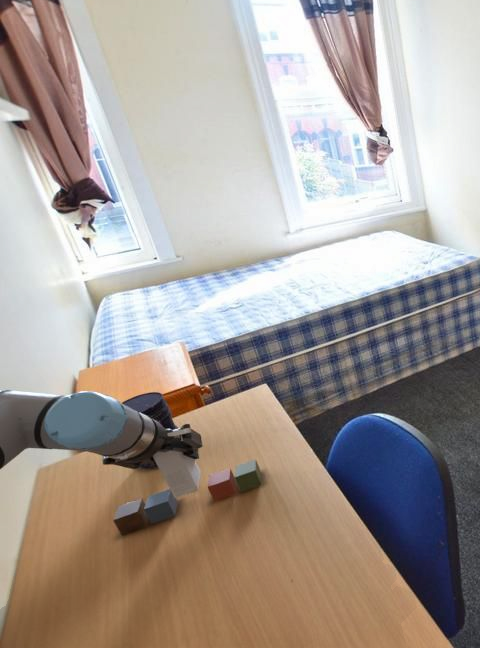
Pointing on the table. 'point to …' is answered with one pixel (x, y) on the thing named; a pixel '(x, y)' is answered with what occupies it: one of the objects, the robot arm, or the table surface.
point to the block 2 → (160, 506)
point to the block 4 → (248, 475)
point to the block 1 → (131, 516)
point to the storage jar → (152, 411)
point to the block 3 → (222, 484)
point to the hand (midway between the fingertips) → (182, 457)
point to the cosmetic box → (178, 472)
